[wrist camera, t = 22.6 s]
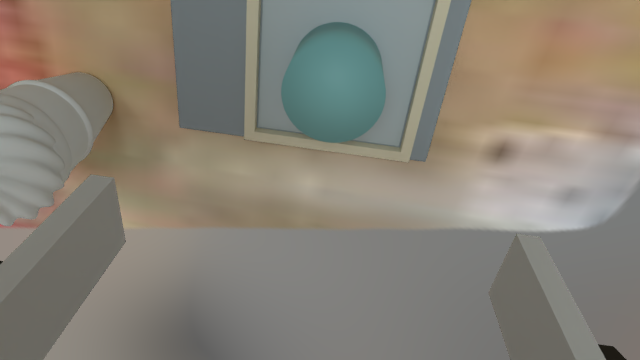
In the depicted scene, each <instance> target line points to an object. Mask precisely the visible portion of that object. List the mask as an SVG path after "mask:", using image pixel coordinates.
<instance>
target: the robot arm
mask: <svg viewBox="0 0 640 360" xmlns="http://www.w3.org/2000/svg"><path fill="white" fill-rule="evenodd" d="M125 242H126V240H125V235H124V229H123V224H122V218H121V213H120V207H119V202H118V196H117V191H116V185H115V180H114V178H112V177H105V176H98V175H90V176H89V177H88V178H87V179H86V180H85V181H84V182H83V183H82V184H81V185H80V186H79V187H78V188H77V189H76V190H75V191H74V192H73V193H72V194H71V195H70V196H69V197H68V198H67V199H66V200H65V201H64V202H63V203H62V204H61V205H60V206H59V207H58V208H57V209H56V210H55V211H54V212H53V213H52V214H51V215H50V216H49V217H48V218H47V219H46V220H45V221H44V222H43V223H42V224H41V225H40V226H39V227H38V228H37V229H36V230H35V231H34V232H33V233H32V234H31V235H30V236H29V237H28V238H27V239H26V240H25V241H24V242H23V243H22V244H21V245H20V246H19V247H18V248H16V249H15V251H14V252H13V253H11V254H10V255H9V256H8V258H7V259H6V260H4V261H0V360H43V359H44V358H45V356H46V355H47V353H48V352H49V351H50V349H51V348H52V346H53V345H54V343H55V342H56V340H57V339H58V338H59V336H60V335H61V333H62V332H63V331H64V329H65V328H66V326H67V325H68V323H69V322H70V321H71V319H72V317H73V316H74V315H75V313H76V312H77V311H78V309H79V308H80V306H81V305H82V303H83V302H84V301H85V299H86V298H87V296H88V295H89V294H90V292H91V290H92V289H93V288H94V286H95V285H96V284H97V282H98V281H99V279H100V278H101V276H102V275H103V274H104V272H105V271H106V269H107V268H108V266H109V265H110V264H111V262H112V261H113V259H114V258H115V256H116V255H117V254H118V252H119V251H120V249H121V248H122V246H123V245H124V244H125ZM489 296H490V299H491V302H492V305H493V308H494V311H495V314H496V317H497V320H498V323H499V326H500V329H501V332H502V335H503V338H504V341H505V344H506V348H507V351H508V354H509V357H510V360H626V359H625V358H624V357H623V356H622V355H621V354H620V353H619V352H618V351H617V350H616V349H615V348H614V347H613V346H606V345H599V344H597V342H596V340H595V338H594V336H593V335H592V333H591V331H590V329H589V327H588V325H587V323H586V322H585V320H584V318H583V316H582V314H581V312H580V310H579V309H578V307H577V305H576V303H575V301H574V299H573V297H572V296H571V294H570V292H569V290H568V288H567V286H566V284H565V283H564V281H563V279H562V277H561V275H560V273H559V271H558V270H557V268H556V266H555V264H554V262H553V260H552V258H551V257H550V255H549V253H548V251H547V249H546V247H545V245H544V244H543V242H542V240H541V238H540V237H535V236H528V235H521V234H516V236H515V238H514V240H513V242H512V244H511V247H510V249H509V251H508V253H507V255H506V257H505V259H504V261H503V263H502V265H501V268H500V269H499V272H498V274H497V276H496V278H495V280H494V282H493V284H492V286H491V288H490V291H489Z"/></svg>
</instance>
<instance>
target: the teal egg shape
mask: <svg viewBox="0 0 640 360" xmlns="http://www.w3.org/2000/svg"><path fill="white" fill-rule="evenodd" d="M281 97H282V103H283V107H284V109H285V112H286V114H287V116H288V118H289V119H290V121H291V122H292V123H293V125H294V126H295V127H296V128H297V129H299V130H300V131H301V132H302V133H304V134H305V135H307V136H309V137H311V138H313V139H316V140H319V141H323V142H329V143H340V142H346V141H350V140H353V139H355V138H358V137H359V136H361V135H363V134H364V133H366V132H367V131H368V130H370V129H371V128H372V127H373V126H374V124H375V123H376V122H377V120H378V119H379V117H380V115H381V113H382V111H383V108H384V105H385V99H386V88H385V81H384V74H383V66H382V59H381V55H380V51H379V49H378V47H377V45H376V43H375V42H374V40H373V39H372V38H371V36H370V35H368V34H367V33H366V32H365V31H364V30H362V29H361V28H359V27H357V26H355V25H352V24H349V23H344V22H331V23H326V24H323V25H320V26H318V27H316V28H314V29H313V30H311V31H310V32H309V33H308V34H307V35H306V36H305V37H304V38H303V39H302V40H301V42H300V43H299V45H298V47H297V49H296V51H295V53H294V55H293V58H292V60H291V62H290V64H289V66H288V68H287V70H286V72H285V75H284V78H283V81H282V87H281Z"/></svg>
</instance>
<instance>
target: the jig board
mask: <svg viewBox="0 0 640 360" xmlns="http://www.w3.org/2000/svg"><path fill="white" fill-rule="evenodd" d="M470 3H471V0H171V12H172V26H173V40H174V54H175V68H176V82H177V97H178V111H179V125H180V128H187V129H194V130H202V131H209V132H216V133H223V134H230V135H237V136H244V140H251V141H258V142H265V143H272V144H279V145H287V146H294V147H301V148H308V149H315V150H322V151H330V152H337V153H344V154H351V155H358V156H365V157H373V158H380V159H387V160H394V161H401V162H408V163H409V160H417V161H424V162H425V161H426V158H427V154H428V151H429V147H430V144H431V140H432V137H433V133H434V130H435V126H436V123H437V119H438V116H439V112H440V109H441V105H442V102H443V98H444V95H445V91H446V87H447V84H448V80H449V77H450V73H451V70H452V66H453V63H454V59H455V56H456V52H457V49H458V45H459V42H460V38H461V35H462V31H463V28H464V24H465V21H466V17H467V14H468V10H469V7H470ZM331 22H344V23H349V24H352V25H355V26H357V27H359V28H361V29H362V30H364V31H365V32H366V33H367V34H368V35H370V36H371V38H372V39H373V40H374V42H375V43H376V45H377V47H378V49H379V51H380V55H381V59H382V66H383V74H384V81H385V88H386V99H385V105H384V108H383V111H382V113H381V115H380V117H379V119H378V120H377V122H376V123H375V124H374V126H373V127H372V128H371V129H370V130H368V131H367V132H366V133H364V134H363V135H361V136H359V137H358V138H355V139H353V140H350V141H346V142H340V143H329V142H323V141H319V140H316V139H313V138H311V137H309V136H307V135H305V134H304V133H302V132H301V131H300V130H299V129H297V128H296V127H295V126H294V125H293V123H292V122H291V121H290V119H289V118H288V116H287V114H286V112H285V109H284V107H283V103H282V97H281V87H282V81H283V78H284V75H285V72H286V70H287V68H288V66H289V64H290V62H291V60H292V58H293V55H294V53H295V51H296V49H297V47H298V45H299V43H300V42H301V40H302V39H303V38H304V37H305V36H306V35H307V34H308V33H309V32H310V31H311V30H313V29H314V28H316V27H318V26H320V25H323V24H326V23H331Z"/></svg>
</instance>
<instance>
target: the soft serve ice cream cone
mask: <svg viewBox="0 0 640 360" xmlns="http://www.w3.org/2000/svg"><path fill="white" fill-rule="evenodd" d="M112 110H113V99H112V96H111V94H110V92H109V90H108V88H107V87H106V86H105V85H104V84H103V83H102V82H101V81H100V80H99V79H97V78H96V77H94V76H92V75H90V74H87V73H82V72H75V73H70V74H65V75H60V76H55V77H50V78H45V79H40V80H23V81H18V82H15V83H13V84H11V85H10V86H8V87H7V88H5V89H2V90H0V224H2V225H4V226H11V225H13V223H14V221H15V220H16V219H17V218H26V219H36V217H37V216H38V211H39V209H40V208H42V207H50V206H52V205H53V204H54V199H53V192H54V191H57V190H59V189H62V188H63V187H64V183H65V181H66V180H67V179H68V177H69V175H70V172H71V171H72V170H73V169H74V167H75V166H76V165H77V164H78V163H79V162H80V161H82V160H83V159H85V158H86V157H87V155H88V154H89V153H90V151H91V149H92V146H93V142H94V141H95V139H96V137H97V136H98V134H99V132H100V131H101V129H102V128H103V126H104V124H105V123H106V121H107V120H108V118H109V116H110V115H111V113H112Z"/></svg>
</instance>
